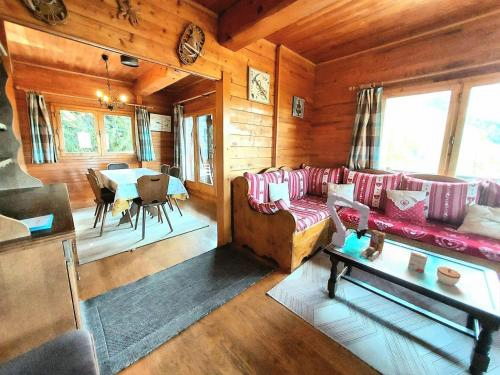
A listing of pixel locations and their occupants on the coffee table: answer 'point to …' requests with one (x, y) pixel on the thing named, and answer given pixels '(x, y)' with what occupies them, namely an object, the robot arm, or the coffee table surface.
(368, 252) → the connector plug
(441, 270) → the lidded jar
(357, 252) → the coffee table surface
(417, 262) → the ink box
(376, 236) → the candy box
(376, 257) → the end holder
